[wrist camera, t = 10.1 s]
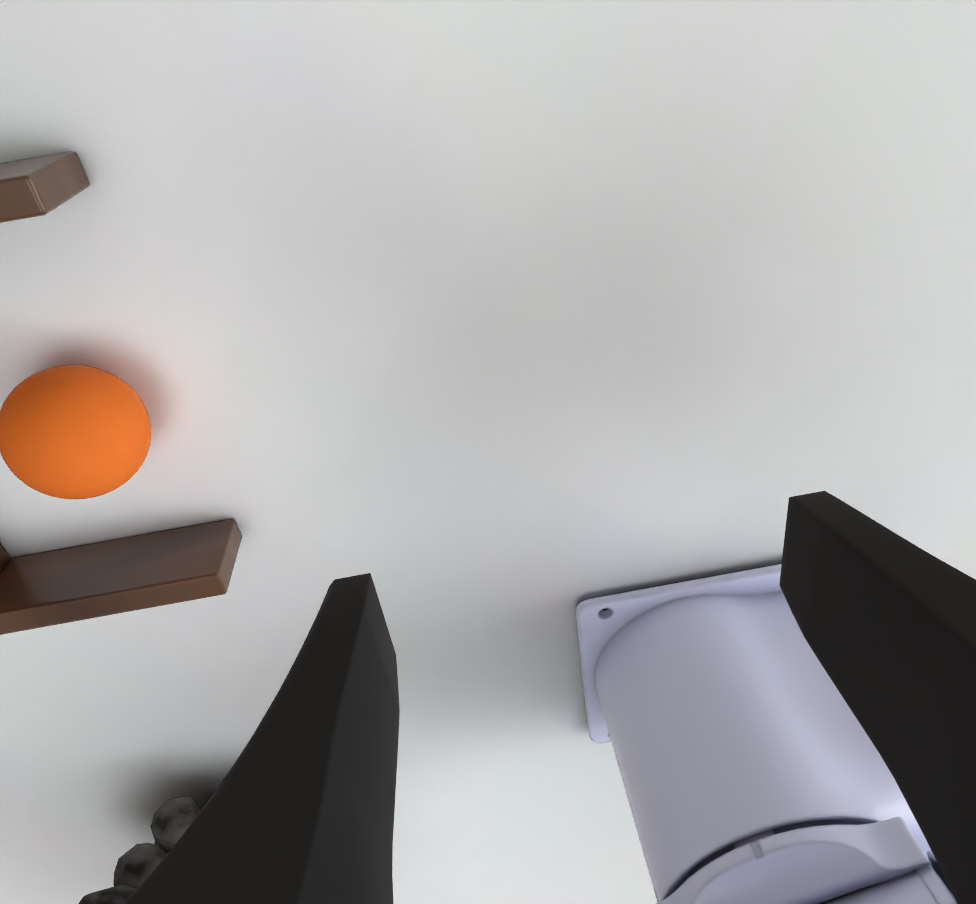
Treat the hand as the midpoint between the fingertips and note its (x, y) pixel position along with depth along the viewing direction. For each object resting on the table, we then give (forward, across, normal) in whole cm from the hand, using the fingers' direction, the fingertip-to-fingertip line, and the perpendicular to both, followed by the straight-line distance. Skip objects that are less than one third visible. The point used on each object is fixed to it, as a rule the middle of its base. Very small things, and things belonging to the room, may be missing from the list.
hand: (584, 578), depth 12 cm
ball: (+8, +11, -1) cm, 14 cm away
